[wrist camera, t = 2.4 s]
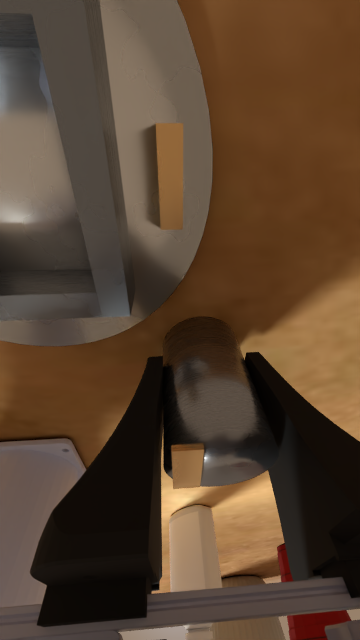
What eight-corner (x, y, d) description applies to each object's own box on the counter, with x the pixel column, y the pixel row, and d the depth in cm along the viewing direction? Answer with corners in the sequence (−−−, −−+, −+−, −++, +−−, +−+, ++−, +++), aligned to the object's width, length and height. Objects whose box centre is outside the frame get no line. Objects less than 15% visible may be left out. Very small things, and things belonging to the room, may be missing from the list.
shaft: (231, 370, 15) (267, 488, 10) (164, 373, 14) (165, 495, 9) (240, 315, 12) (295, 434, 7) (161, 318, 12) (160, 441, 7)
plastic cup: (323, 531, 37) (381, 669, 27) (328, 546, 43) (377, 663, 33) (254, 544, 39) (285, 676, 29) (268, 556, 45) (297, 670, 35)
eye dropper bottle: (160, 511, 28) (159, 708, 18) (207, 501, 27) (232, 703, 17) (174, 521, 30) (180, 700, 20) (217, 513, 29) (245, 696, 20)
